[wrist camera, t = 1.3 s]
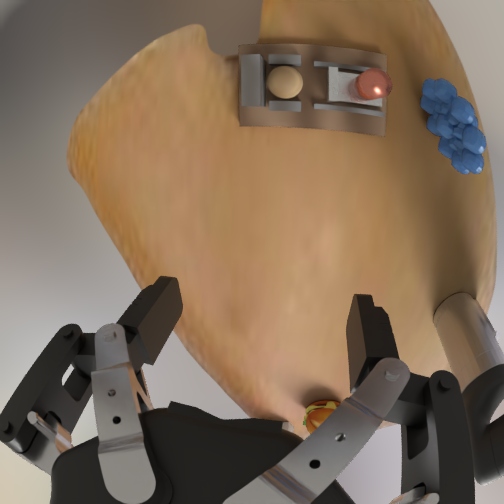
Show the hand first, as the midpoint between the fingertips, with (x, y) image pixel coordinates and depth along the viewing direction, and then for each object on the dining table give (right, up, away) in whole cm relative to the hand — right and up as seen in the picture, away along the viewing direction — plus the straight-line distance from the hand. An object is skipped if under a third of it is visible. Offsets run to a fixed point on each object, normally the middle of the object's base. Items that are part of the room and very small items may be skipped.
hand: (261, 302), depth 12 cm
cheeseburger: (+18, -36, +47) cm, 62 cm away
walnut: (+4, +22, +16) cm, 27 cm away
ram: (+11, +21, +14) cm, 28 cm away
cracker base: (+7, +22, +16) cm, 29 cm away
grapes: (+24, +20, +15) cm, 34 cm away
